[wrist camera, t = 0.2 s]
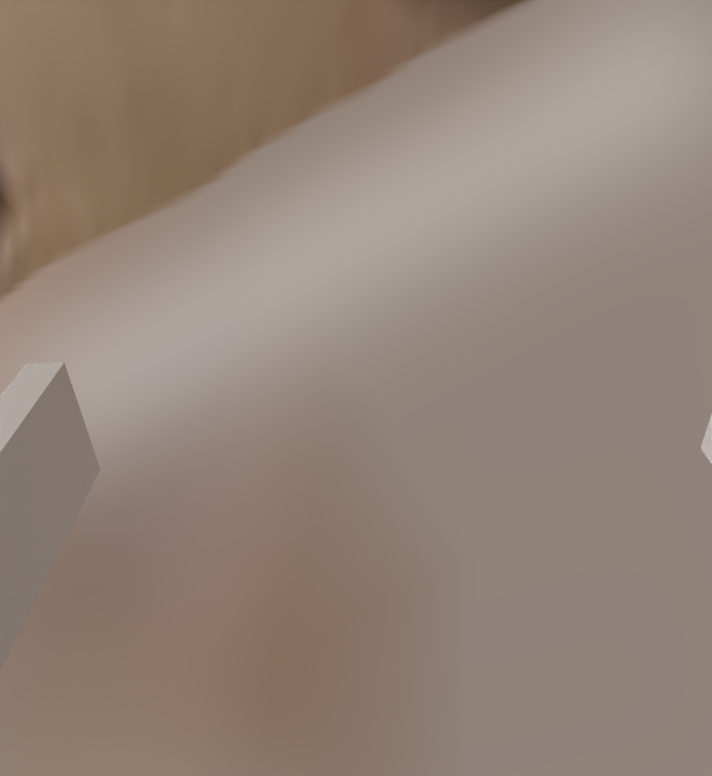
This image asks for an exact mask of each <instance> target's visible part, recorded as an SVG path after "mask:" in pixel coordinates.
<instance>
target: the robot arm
mask: <svg viewBox="0 0 712 776" xmlns="http://www.w3.org/2000/svg"><path fill="white" fill-rule="evenodd" d="M701 449H702V451H703V452H704V454H705V455H706V456H707V458H708V459H709V461H710V462H711V463H712V414H711V417H710V421H709V424H708V427H707V430H706V433H705V437H704V439H703V443H702V446H701ZM99 471H100V467H99V464H98V461H97V459H96V455H95V452H94V449H93V446H92V444H91V440H90V437H89V434H88V431H87V428H86V425H85V423H84V420H83V417H82V414H81V411H80V408H79V405H78V402H77V399H76V396H75V393H74V390H73V387H72V384H71V381H70V379H69V375H68V372H67V369H66V367H65V363H64V362H63V363H37V364H25V366H24V367H23V368H22V369H21V371H20V372H19V373H18V374H17V376H16V377H15V378H14V379H13V381H12V382H11V383H10V384H9V386H8V387H7V388H6V389H5V391H4V392H3V393H2V394H1V396H0V672H1V669H2V667H3V665H4V663H5V661H6V659H7V657H8V655H9V653H10V651H11V649H12V647H13V645H14V643H15V641H16V639H17V637H18V635H19V633H20V631H21V629H22V627H23V625H24V623H25V621H26V619H27V617H28V615H29V613H30V611H31V609H32V607H33V604H34V602H35V600H36V598H37V596H38V594H39V592H40V590H41V588H42V586H43V584H44V582H45V580H46V578H47V576H48V574H49V572H50V570H51V568H52V566H53V564H54V562H55V560H56V558H57V556H58V554H59V552H60V550H61V548H62V546H63V543H64V542H65V539H66V538H67V536H68V533H69V531H70V529H71V527H72V525H73V523H74V521H75V519H76V517H77V515H78V513H79V511H80V509H81V507H82V505H83V503H84V501H85V499H86V497H87V495H88V493H89V491H90V489H91V486H92V485H93V483H94V481H95V479H96V477H97V475H98V473H99Z"/></svg>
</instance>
